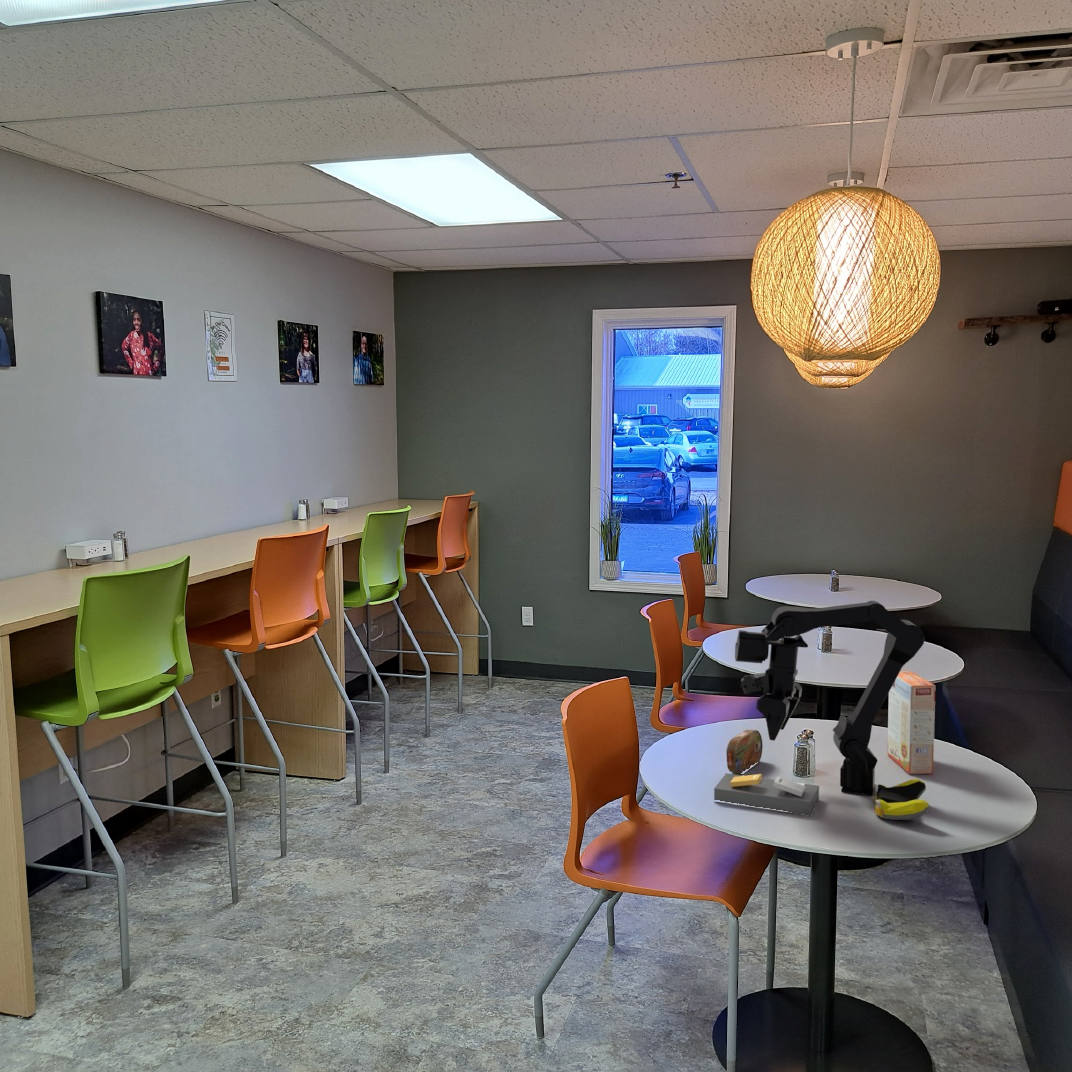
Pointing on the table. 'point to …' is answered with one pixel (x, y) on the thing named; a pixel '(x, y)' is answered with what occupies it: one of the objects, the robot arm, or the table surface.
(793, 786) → the grey rocker
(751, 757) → the tin
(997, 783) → the table surface
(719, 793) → the rocker switch panel
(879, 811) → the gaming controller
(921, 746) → the cracker box
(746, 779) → the block
